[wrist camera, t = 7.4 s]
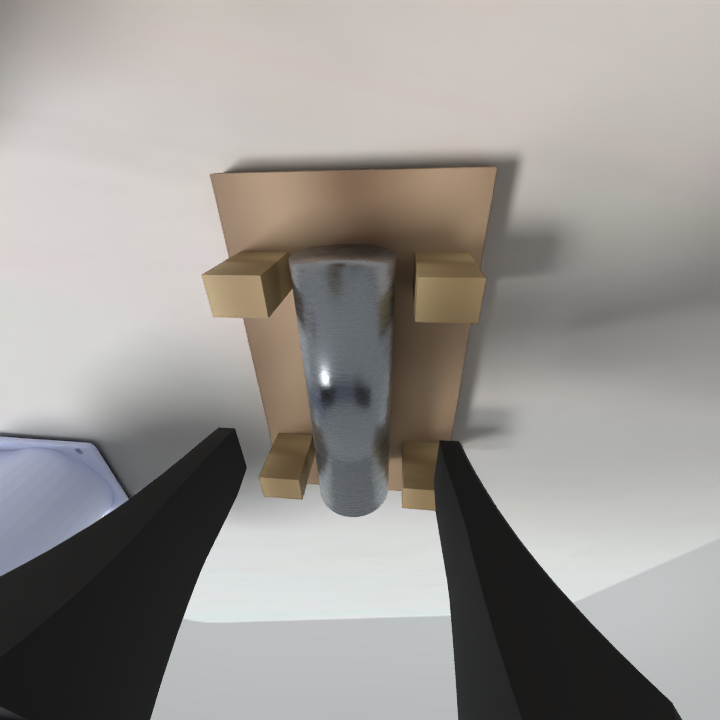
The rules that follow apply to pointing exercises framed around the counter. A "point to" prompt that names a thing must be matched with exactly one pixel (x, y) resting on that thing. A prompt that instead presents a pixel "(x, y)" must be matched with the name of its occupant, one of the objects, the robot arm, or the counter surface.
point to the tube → (348, 367)
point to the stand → (411, 307)
